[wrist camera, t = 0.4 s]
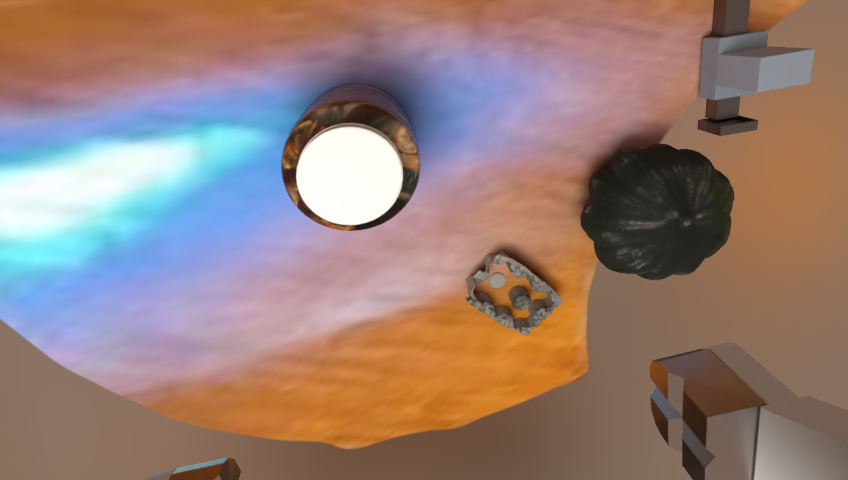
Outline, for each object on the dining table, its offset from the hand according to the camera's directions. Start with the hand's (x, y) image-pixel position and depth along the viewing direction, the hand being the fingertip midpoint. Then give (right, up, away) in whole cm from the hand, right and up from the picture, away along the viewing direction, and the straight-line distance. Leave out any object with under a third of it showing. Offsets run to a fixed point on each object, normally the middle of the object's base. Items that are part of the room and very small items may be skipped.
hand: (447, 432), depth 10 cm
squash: (+24, +9, +49) cm, 55 cm away
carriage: (+31, +23, +44) cm, 59 cm away
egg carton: (+10, -2, +53) cm, 54 cm away
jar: (-8, +15, +44) cm, 47 cm away
